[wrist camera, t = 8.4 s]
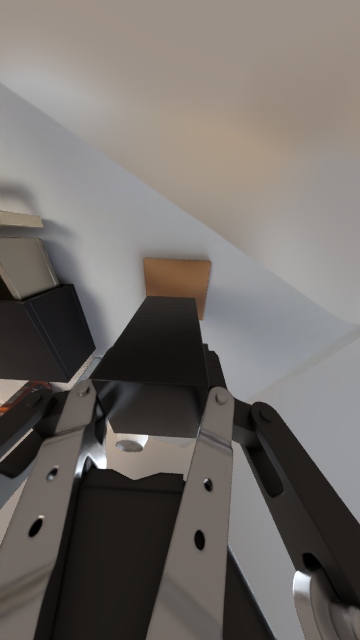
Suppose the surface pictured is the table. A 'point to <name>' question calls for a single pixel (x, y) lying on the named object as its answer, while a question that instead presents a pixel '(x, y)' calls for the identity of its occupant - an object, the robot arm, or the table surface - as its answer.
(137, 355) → the block
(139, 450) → the can
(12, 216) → the drawer
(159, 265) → the plate
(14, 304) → the black storage cabinet
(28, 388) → the supplement bottle
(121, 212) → the table surface
